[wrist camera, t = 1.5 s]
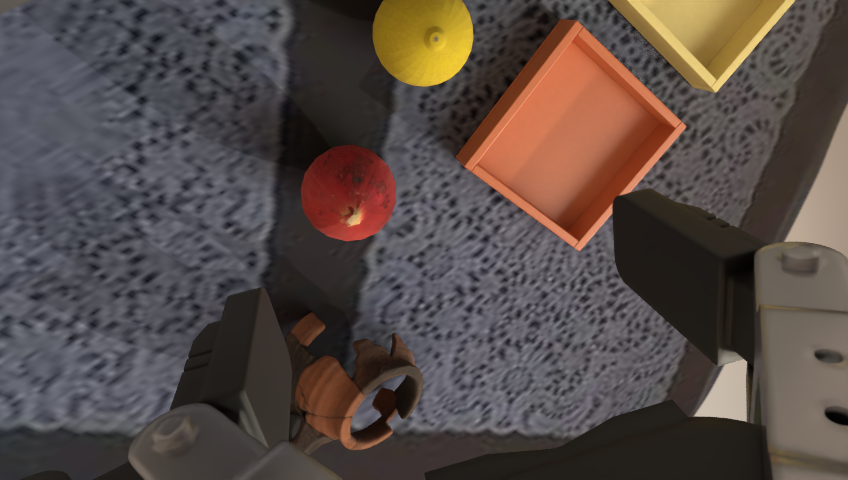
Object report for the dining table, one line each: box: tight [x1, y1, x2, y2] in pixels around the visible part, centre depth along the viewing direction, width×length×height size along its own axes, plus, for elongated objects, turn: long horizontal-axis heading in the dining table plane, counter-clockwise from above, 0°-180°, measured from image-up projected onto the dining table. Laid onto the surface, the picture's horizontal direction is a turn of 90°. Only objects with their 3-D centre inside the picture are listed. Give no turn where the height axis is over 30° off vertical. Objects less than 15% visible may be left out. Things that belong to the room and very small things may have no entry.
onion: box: [301, 144, 396, 241], centre depth 34 cm, size 6×6×8 cm
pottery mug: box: [285, 312, 423, 455], centre depth 41 cm, size 12×10×8 cm
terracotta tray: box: [456, 19, 686, 251], centre depth 38 cm, size 11×11×2 cm
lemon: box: [373, 0, 473, 87], centre depth 31 cm, size 6×6×8 cm
